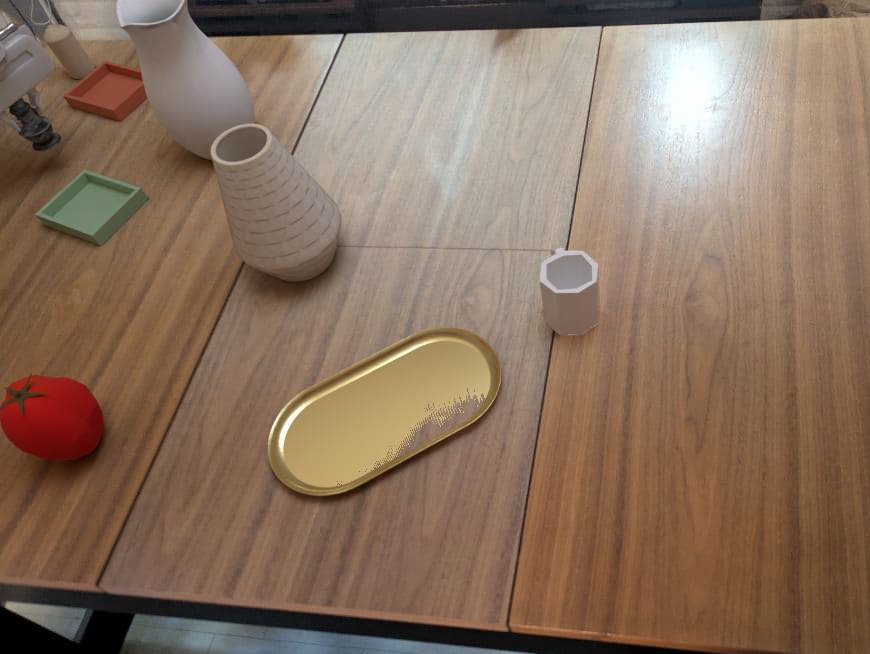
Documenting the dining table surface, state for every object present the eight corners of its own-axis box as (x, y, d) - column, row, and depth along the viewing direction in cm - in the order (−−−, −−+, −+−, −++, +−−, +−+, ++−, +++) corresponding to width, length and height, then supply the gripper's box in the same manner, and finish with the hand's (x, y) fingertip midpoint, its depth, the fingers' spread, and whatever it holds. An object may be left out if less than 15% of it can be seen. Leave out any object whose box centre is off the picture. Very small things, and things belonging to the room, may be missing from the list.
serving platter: (526, 399, 100) (525, 393, 99) (298, 525, 93) (293, 520, 92) (466, 313, 109) (464, 307, 108) (254, 422, 102) (249, 417, 101)
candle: (75, 82, 152) (43, 38, 143) (66, 72, 154) (34, 28, 146) (99, 70, 153) (69, 26, 145) (90, 60, 156) (59, 16, 147)
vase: (232, 285, 117) (154, 174, 97) (285, 211, 125) (223, 96, 105) (322, 307, 112) (260, 197, 93) (372, 230, 120) (324, 113, 101)
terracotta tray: (70, 106, 148) (62, 95, 145) (112, 71, 153) (105, 60, 151) (120, 121, 143) (113, 110, 141) (162, 84, 149) (155, 73, 146)
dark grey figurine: (30, 138, 134) (-17, 80, 124) (61, 128, 135) (17, 70, 125) (31, 156, 131) (-17, 99, 121) (63, 146, 132) (18, 89, 122)
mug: (608, 327, 105) (607, 284, 97) (552, 343, 105) (547, 301, 96) (583, 270, 111) (580, 225, 103) (531, 285, 111) (524, 240, 102)
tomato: (67, 492, 99) (-3, 448, 88) (29, 442, 104) (-42, 395, 93) (138, 436, 103) (80, 387, 92) (98, 391, 108) (38, 339, 97)
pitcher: (281, 144, 135) (210, -3, 111) (199, 184, 131) (106, 41, 107) (236, 86, 146) (162, -59, 122) (159, 121, 142) (68, -21, 118)
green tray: (44, 225, 129) (34, 214, 127) (93, 179, 134) (84, 169, 132) (101, 246, 125) (91, 235, 122) (149, 198, 130) (140, 187, 128)
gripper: (7, 12, 123) (59, 84, 135) (-90, 81, 114) (-25, 151, 126) (32, 19, 121) (82, 91, 133) (-64, 89, 112) (-1, 160, 124)
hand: (29, 121), depth 129 cm, fingers closed on dark grey figurine, 3 cm apart
